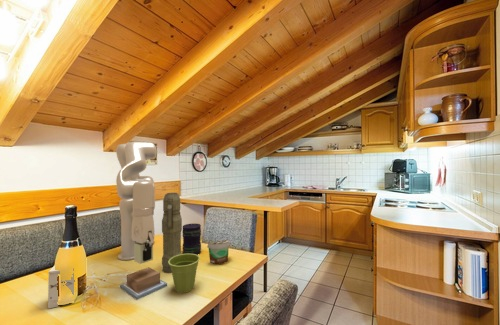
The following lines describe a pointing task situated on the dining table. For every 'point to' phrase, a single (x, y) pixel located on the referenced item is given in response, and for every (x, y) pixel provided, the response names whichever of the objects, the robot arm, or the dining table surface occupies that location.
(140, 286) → the walnut plinth
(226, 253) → the food container
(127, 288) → the blueprint mat
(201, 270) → the dining table surface
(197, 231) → the storage jar
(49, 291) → the supplement box
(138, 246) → the sage pillar block
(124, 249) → the robot arm
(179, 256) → the plant pot
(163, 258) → the thermos
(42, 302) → the dining table surface
